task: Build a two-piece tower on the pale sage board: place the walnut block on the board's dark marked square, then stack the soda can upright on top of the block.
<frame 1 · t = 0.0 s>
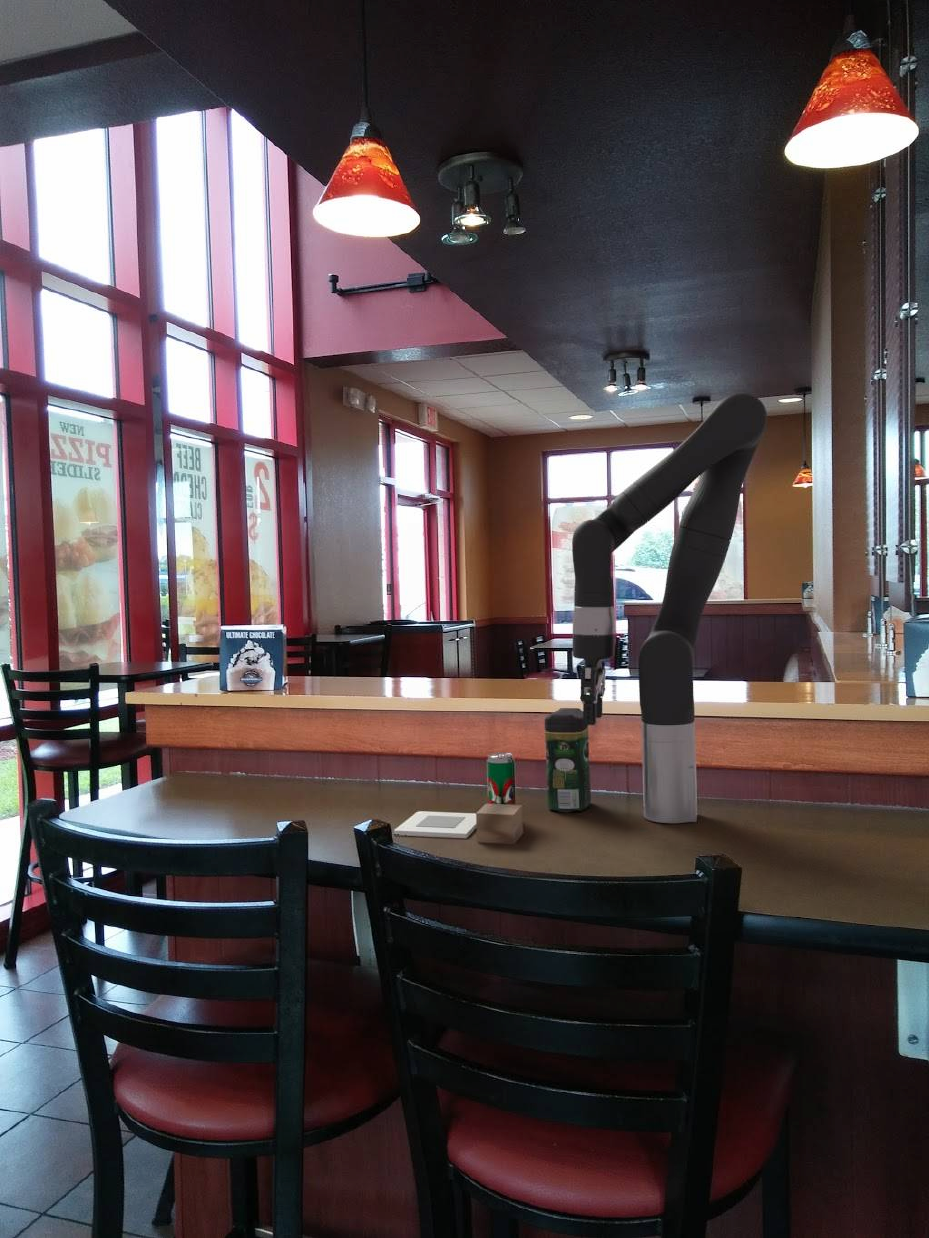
hand: (592, 720, 166), 17 cm above the table, tool pointing down, fingers open, 8 cm apart
coffee jar: (568, 807, 174), on the table
walnut block: (500, 838, 155), on the table
board: (441, 826, 163), on the table
soda can: (502, 822, 165), on the table
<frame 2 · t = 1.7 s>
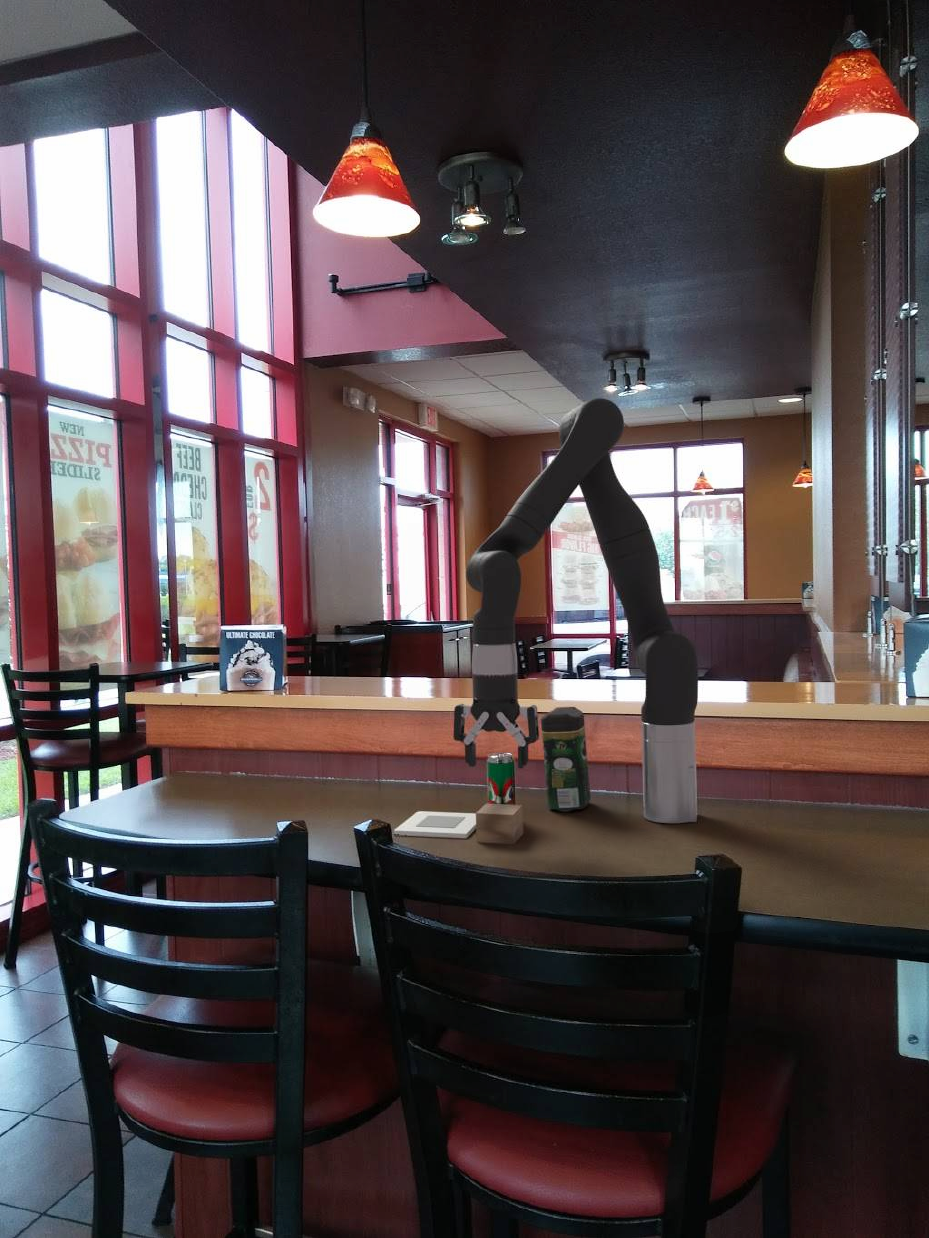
hand: (496, 766, 154), 12 cm above the table, tool pointing down, fingers open, 8 cm apart
nothing on the table moved.
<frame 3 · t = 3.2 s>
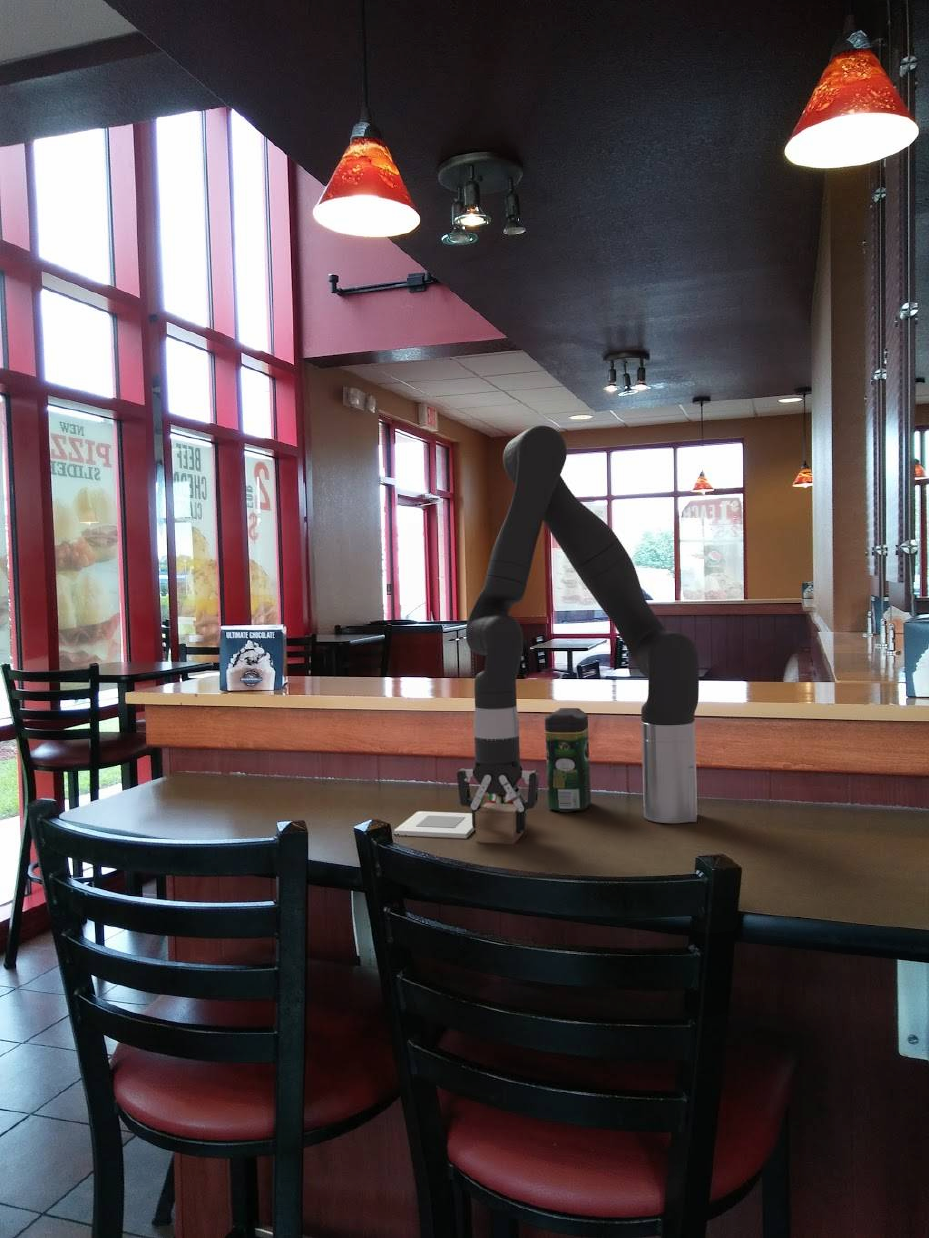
hand: (499, 831, 154), 1 cm above the table, tool pointing down, fingers closed on walnut block, 6 cm apart
walnut block: (499, 837, 155), on the table, touching gripper
everything else where it was.
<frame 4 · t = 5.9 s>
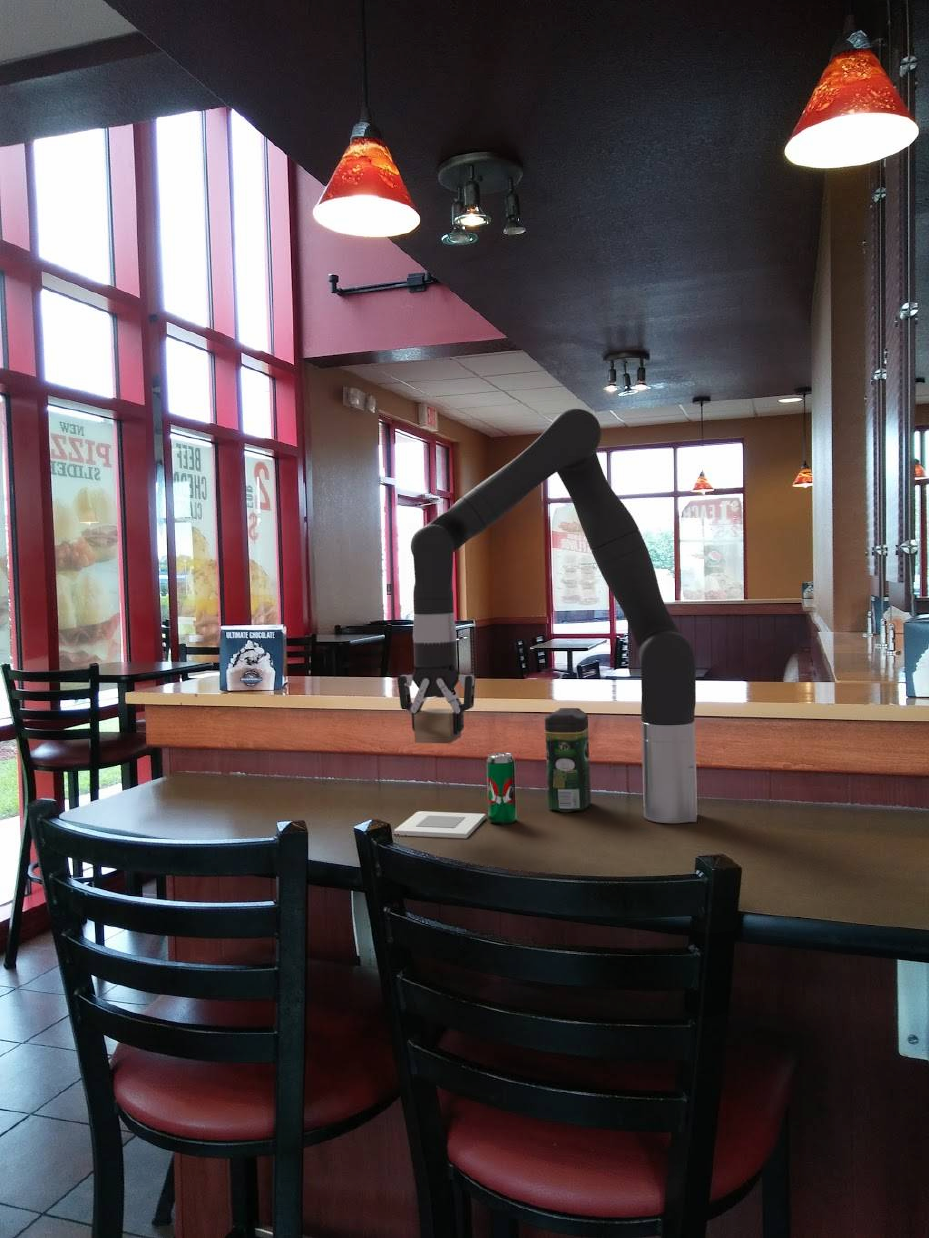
hand: (438, 733, 162), 17 cm above the table, tool pointing down, fingers closed on walnut block, 6 cm apart
walnut block: (438, 739, 162), point 15 cm above the table, touching gripper
everything else where it was.
when the fingers open (3 cm above the table, at t = 8.9 s): walnut block stays where it is, resting on board.
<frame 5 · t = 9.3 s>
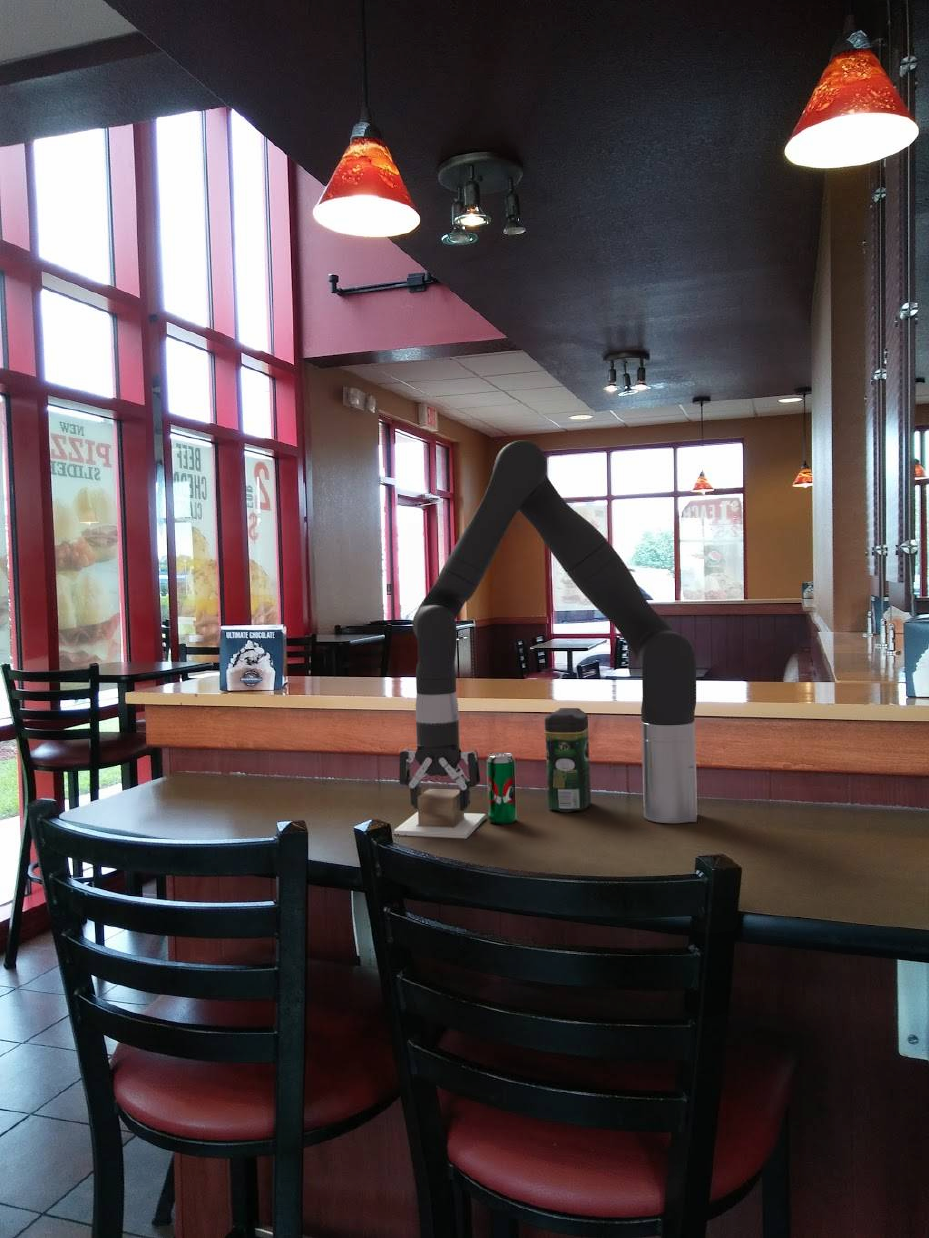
hand: (440, 809, 163), 3 cm above the table, tool pointing down, fingers open, 8 cm apart
walnut block: (441, 821, 163), point 1 cm above the table, touching board
everything else where it was.
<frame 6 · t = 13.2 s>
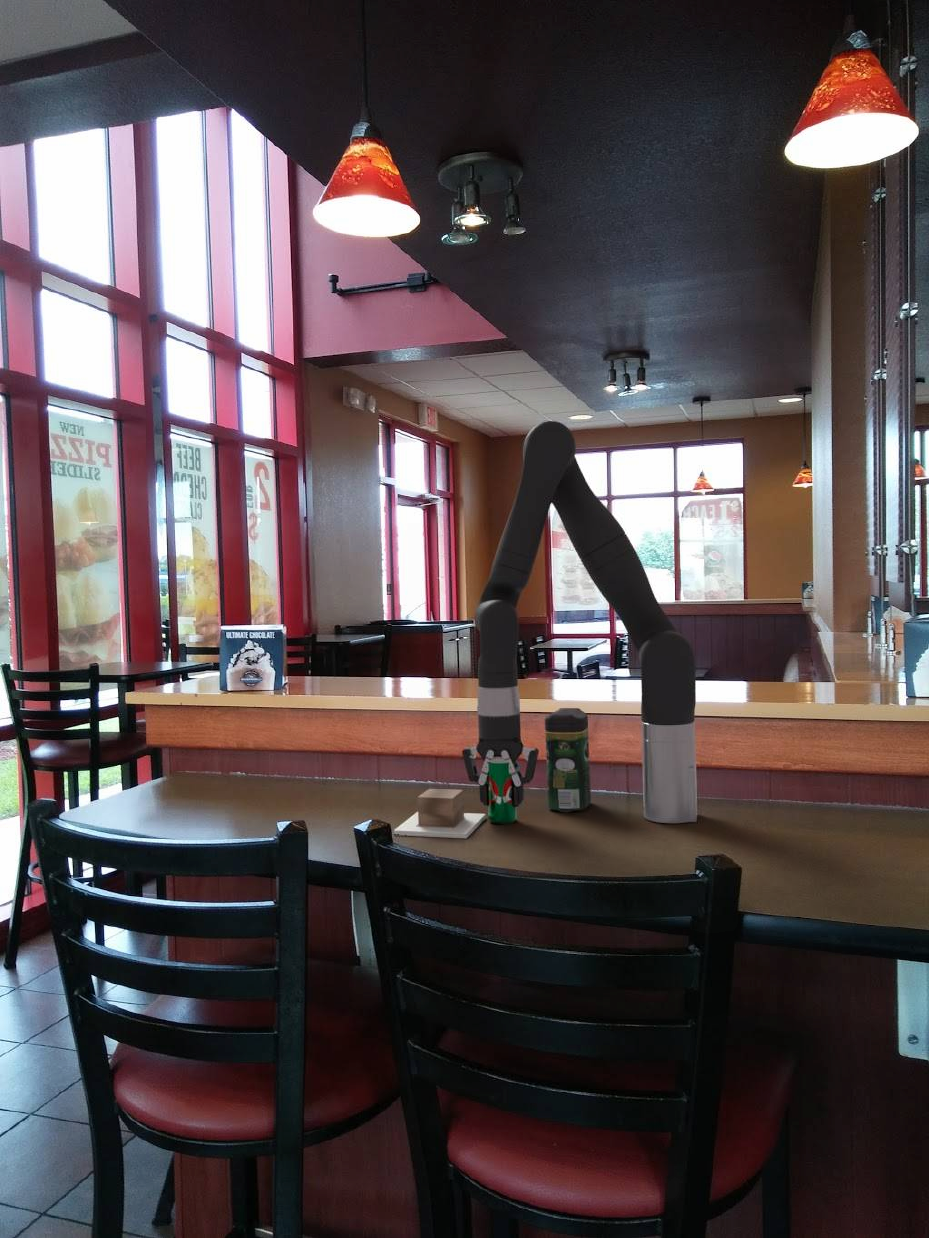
hand: (501, 804, 165), 3 cm above the table, tool pointing down, fingers closed on soda can, 5 cm apart
soda can: (502, 822, 165), on the table, touching gripper
everything else where it was.
when the fingers open (10 cm above the table, at t = 19.0 s): soda can stays where it is, resting on walnut block.
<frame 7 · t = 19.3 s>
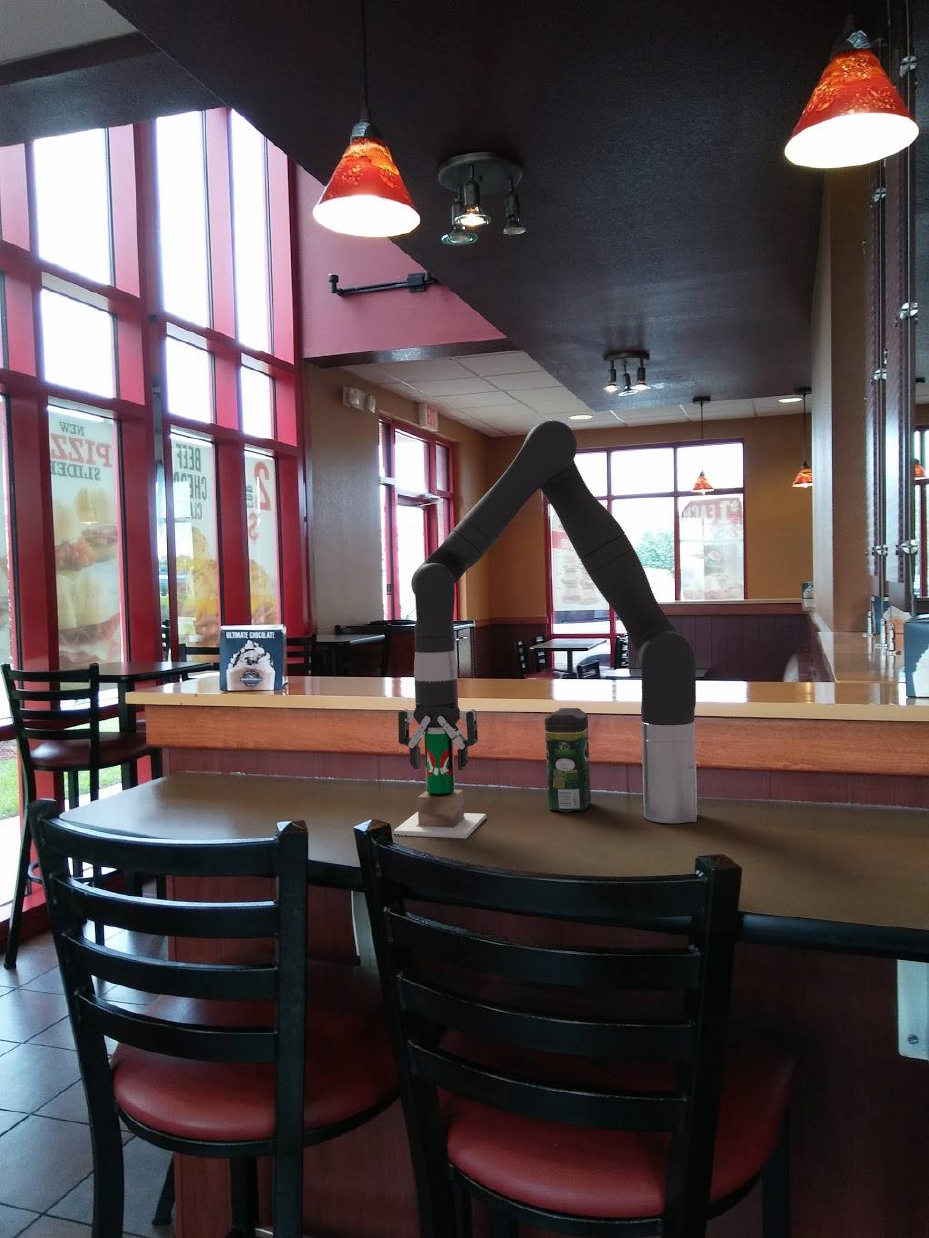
hand: (439, 768, 162), 10 cm above the table, tool pointing down, fingers open, 8 cm apart
walnut block: (441, 821, 163), point 1 cm above the table, touching board, soda can
soda can: (440, 794, 162), point 6 cm above the table, touching walnut block
everything else where it was.
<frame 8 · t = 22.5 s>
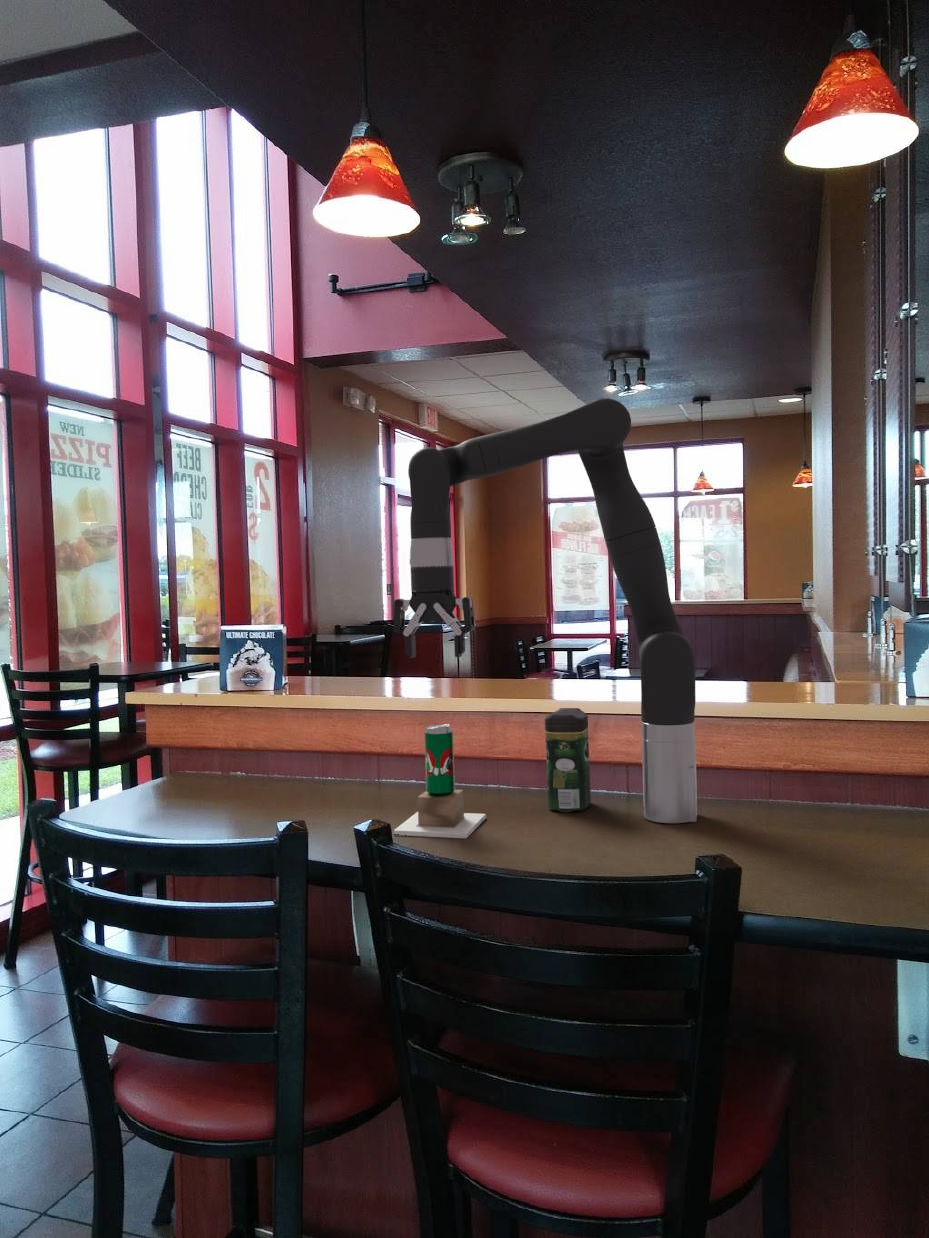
hand: (435, 657, 161), 30 cm above the table, tool pointing down, fingers open, 8 cm apart
nothing on the table moved.
at the end: walnut block 0.1 cm off-centre on the board, point 0.9 cm above the board's base; soda can 0.1 cm off-centre on the walnut block, point 4.8 cm above the walnut block's base; soda can tilted 0° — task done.
